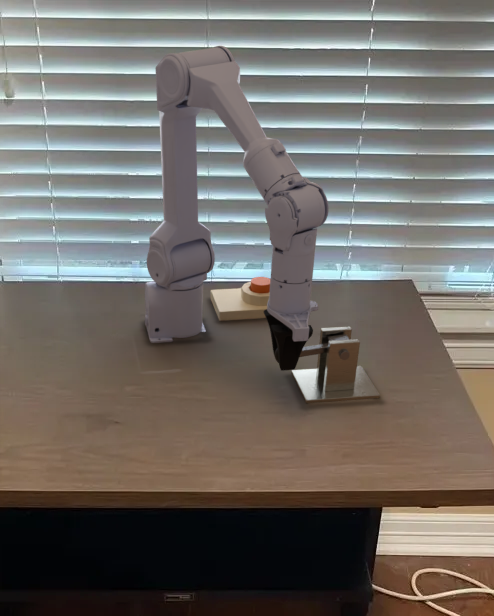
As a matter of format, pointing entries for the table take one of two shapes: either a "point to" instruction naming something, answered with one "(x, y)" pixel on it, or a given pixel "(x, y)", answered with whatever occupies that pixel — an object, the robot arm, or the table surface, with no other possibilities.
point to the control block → (239, 303)
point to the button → (260, 285)
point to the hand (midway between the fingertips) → (284, 363)
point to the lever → (317, 347)
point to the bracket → (336, 372)
